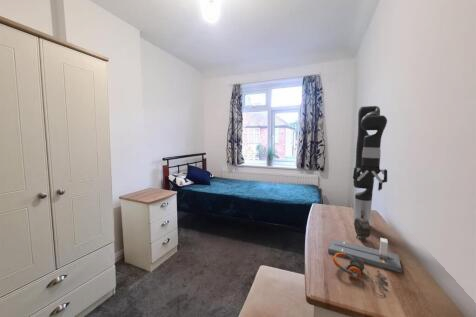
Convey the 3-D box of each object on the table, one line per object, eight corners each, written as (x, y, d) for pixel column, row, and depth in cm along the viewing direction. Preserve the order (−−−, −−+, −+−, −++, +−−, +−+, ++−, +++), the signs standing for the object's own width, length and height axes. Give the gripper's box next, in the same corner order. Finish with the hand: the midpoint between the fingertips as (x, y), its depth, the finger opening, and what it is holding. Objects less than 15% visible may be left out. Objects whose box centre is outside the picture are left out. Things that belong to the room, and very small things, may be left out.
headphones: (390, 293, 70) (330, 258, 81) (384, 306, 71) (326, 270, 83) (392, 270, 82) (340, 243, 94) (388, 281, 84) (337, 253, 96)
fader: (378, 252, 96) (379, 237, 95) (386, 254, 94) (387, 238, 94) (379, 257, 92) (380, 241, 91) (387, 259, 90) (388, 243, 90)
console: (331, 242, 110) (331, 238, 110) (397, 258, 95) (397, 254, 95) (327, 252, 100) (328, 248, 100) (401, 272, 85) (401, 267, 85)
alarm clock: (370, 243, 109) (372, 213, 108) (358, 242, 110) (360, 212, 109) (362, 234, 120) (364, 207, 118) (351, 233, 121) (353, 206, 119)
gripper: (388, 157, 101) (385, 189, 102) (354, 155, 108) (352, 186, 110) (389, 158, 94) (386, 192, 96) (354, 156, 102) (351, 188, 103)
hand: (368, 189), depth 103 cm, fingers open, 8 cm apart
